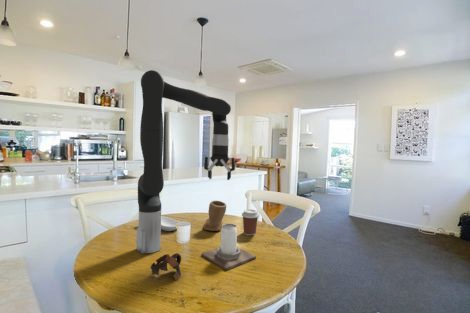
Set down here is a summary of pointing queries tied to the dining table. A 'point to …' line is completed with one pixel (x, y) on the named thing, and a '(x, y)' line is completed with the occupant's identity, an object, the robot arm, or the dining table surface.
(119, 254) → the dining table surface
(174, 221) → the spoon rest
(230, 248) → the can
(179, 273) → the brown arched figurine
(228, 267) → the collar board
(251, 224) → the coffee cup
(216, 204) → the brown boot vase
